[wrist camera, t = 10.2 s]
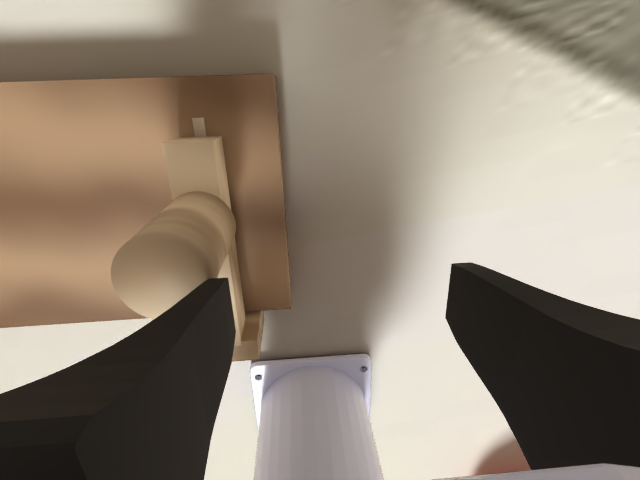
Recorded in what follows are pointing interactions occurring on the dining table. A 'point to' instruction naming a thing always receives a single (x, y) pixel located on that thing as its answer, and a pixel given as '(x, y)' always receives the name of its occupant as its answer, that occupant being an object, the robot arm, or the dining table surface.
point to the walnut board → (127, 186)
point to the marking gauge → (188, 242)
